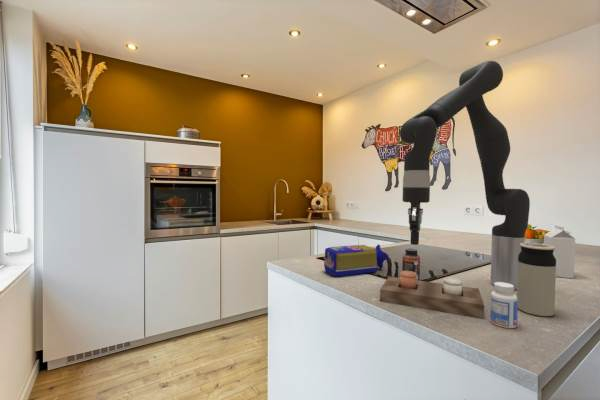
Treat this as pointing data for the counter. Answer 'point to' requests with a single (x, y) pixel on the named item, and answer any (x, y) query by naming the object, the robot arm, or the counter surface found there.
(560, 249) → the milk carton
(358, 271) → the bread
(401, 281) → the orange lidded jar
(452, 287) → the white lidded jar
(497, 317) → the pill bottle
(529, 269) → the travel mug
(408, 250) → the supplement bottle
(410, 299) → the panel
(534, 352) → the counter surface
